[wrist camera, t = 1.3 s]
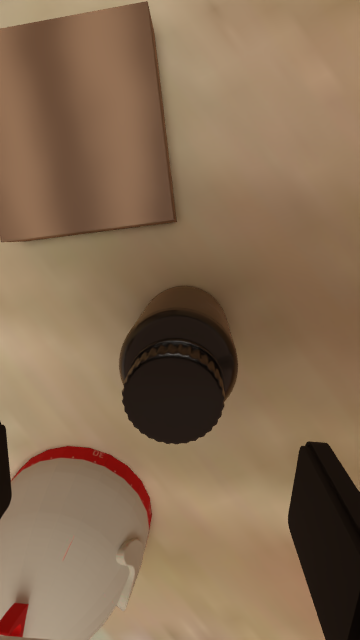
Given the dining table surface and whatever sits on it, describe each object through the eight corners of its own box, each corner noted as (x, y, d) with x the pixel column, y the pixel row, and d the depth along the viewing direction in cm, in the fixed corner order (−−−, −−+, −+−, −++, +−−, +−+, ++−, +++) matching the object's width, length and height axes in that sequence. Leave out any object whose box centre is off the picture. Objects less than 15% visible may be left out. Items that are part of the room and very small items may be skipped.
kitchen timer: (16, 556, 34) (-122, 799, 19) (5, 440, 30) (-174, 630, 16) (149, 569, 33) (112, 829, 19) (153, 452, 30) (111, 660, 15)
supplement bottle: (133, 294, 26) (80, 342, 14) (217, 276, 25) (234, 311, 14) (153, 373, 28) (121, 473, 16) (233, 357, 27) (260, 451, 15)
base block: (154, 33, 21) (147, 1, 18) (176, 221, 24) (173, 219, 21) (-18, 63, 22) (-50, 37, 19) (23, 241, 25) (1, 242, 22)
